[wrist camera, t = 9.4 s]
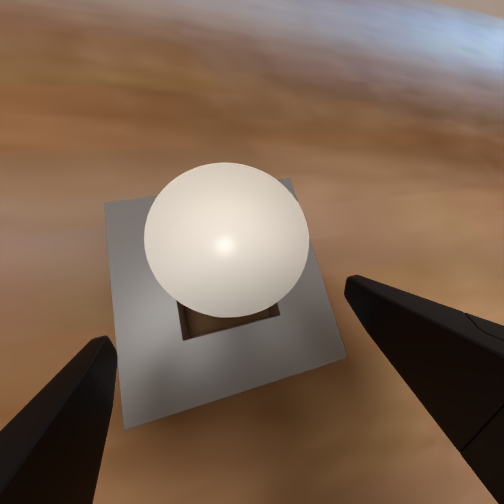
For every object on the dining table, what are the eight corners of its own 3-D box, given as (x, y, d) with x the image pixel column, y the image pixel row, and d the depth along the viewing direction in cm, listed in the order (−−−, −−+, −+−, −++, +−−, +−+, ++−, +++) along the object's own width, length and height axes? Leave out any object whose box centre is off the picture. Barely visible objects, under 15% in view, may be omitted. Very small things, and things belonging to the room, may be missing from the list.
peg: (264, 298, 19) (338, 266, 7) (208, 329, 17) (189, 353, 6) (235, 246, 19) (260, 143, 8) (180, 272, 18) (117, 195, 7)
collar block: (327, 351, 18) (347, 357, 15) (141, 409, 15) (123, 430, 12) (280, 196, 21) (290, 178, 19) (121, 220, 19) (103, 203, 16)
